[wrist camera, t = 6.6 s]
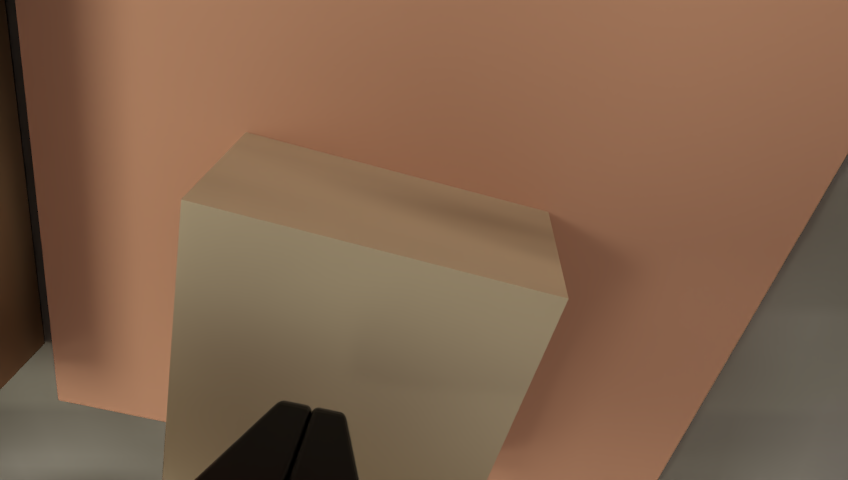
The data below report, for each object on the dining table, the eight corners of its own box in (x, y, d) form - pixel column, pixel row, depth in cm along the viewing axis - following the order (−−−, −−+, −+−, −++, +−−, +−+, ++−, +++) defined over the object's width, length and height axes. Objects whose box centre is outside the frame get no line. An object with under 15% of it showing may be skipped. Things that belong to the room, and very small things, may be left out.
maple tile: (160, 508, 11) (214, 402, 13) (444, 571, 11) (450, 459, 13) (180, 199, 8) (246, 132, 10) (568, 298, 8) (548, 212, 10)
